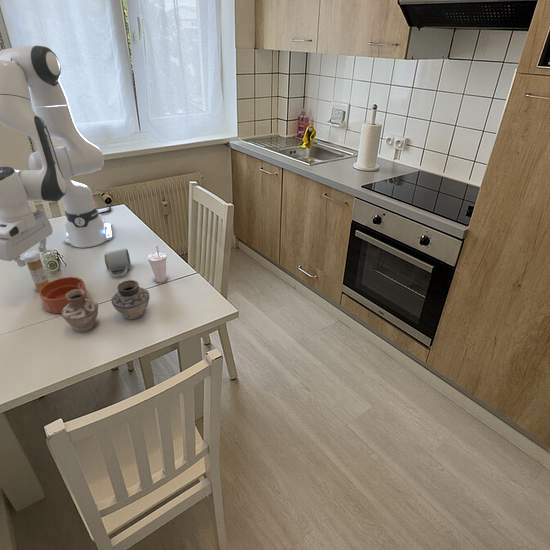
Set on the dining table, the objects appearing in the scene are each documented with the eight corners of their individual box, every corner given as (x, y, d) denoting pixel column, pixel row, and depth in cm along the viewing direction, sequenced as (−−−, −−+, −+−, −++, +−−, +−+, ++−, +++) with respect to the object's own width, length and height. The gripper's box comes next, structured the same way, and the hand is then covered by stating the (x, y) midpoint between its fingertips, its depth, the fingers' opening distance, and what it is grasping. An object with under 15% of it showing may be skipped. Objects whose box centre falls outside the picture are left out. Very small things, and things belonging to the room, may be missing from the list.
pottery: (66, 320, 121) (55, 288, 115) (148, 299, 131) (142, 269, 125) (68, 342, 113) (56, 309, 107) (155, 318, 123) (149, 286, 116)
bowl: (50, 292, 134) (45, 279, 131) (91, 288, 136) (88, 275, 133) (39, 316, 123) (33, 302, 120) (84, 311, 125) (79, 297, 122)
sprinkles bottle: (44, 283, 138) (32, 249, 131) (53, 286, 137) (41, 252, 130) (33, 289, 135) (19, 255, 128) (42, 293, 133) (29, 258, 126)
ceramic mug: (108, 265, 149) (103, 247, 145) (131, 262, 151) (127, 244, 147) (107, 280, 141) (102, 262, 136) (131, 276, 143) (127, 258, 139)
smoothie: (165, 285, 138) (159, 250, 131) (148, 283, 139) (141, 248, 132) (173, 275, 143) (167, 241, 136) (156, 273, 145) (150, 240, 137)
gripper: (34, 206, 131) (46, 242, 139) (-16, 234, 115) (1, 273, 123) (50, 208, 130) (62, 244, 138) (2, 236, 114) (18, 276, 122)
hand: (33, 258), depth 130 cm, fingers open, 8 cm apart
